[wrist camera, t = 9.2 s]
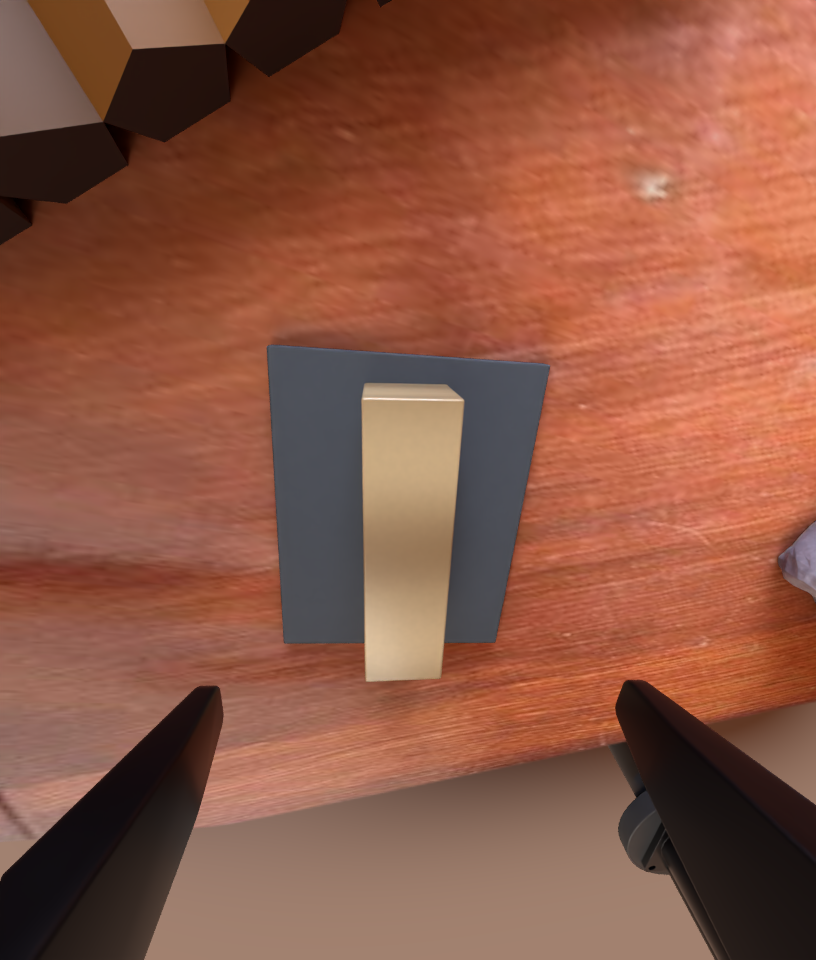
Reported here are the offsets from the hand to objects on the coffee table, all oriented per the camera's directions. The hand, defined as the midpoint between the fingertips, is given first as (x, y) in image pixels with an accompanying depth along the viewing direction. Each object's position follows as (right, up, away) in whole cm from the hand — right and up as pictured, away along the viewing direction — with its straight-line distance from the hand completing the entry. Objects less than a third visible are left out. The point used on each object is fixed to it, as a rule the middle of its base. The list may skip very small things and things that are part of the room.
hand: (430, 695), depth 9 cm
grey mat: (-1, +3, +8) cm, 9 cm away
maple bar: (-1, +3, +7) cm, 8 cm away
